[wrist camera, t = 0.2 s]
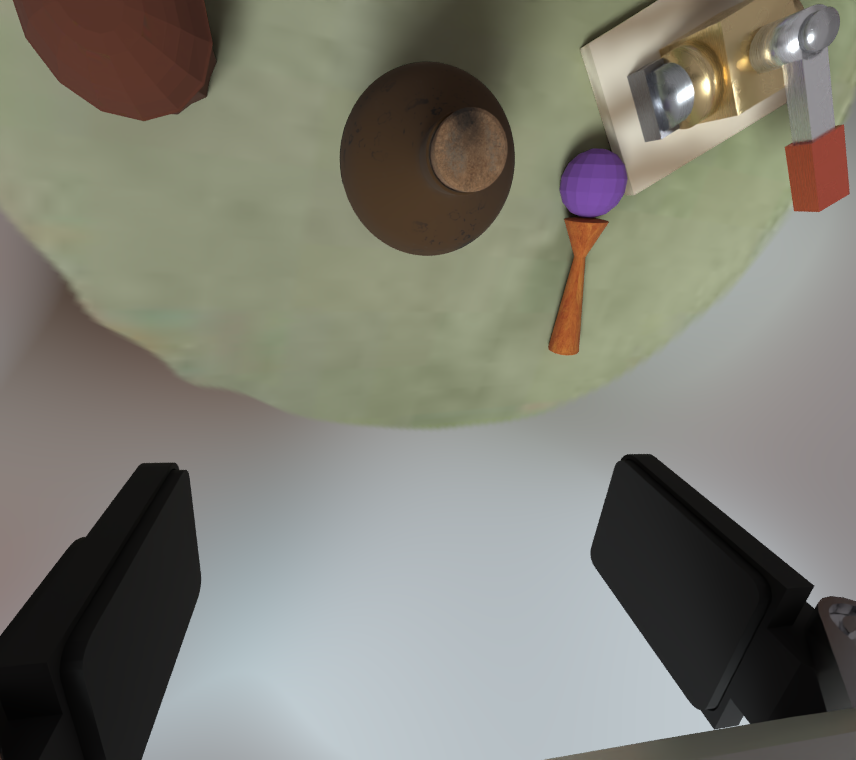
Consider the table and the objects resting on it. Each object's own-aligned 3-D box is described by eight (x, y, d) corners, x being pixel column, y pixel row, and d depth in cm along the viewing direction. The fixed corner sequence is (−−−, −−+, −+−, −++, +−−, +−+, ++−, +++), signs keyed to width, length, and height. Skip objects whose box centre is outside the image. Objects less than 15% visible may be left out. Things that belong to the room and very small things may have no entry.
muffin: (262, 91, 37) (237, 56, 28) (149, 159, 37) (87, 146, 28) (159, -83, 32) (88, -197, 23) (30, -3, 32) (-93, -83, 23)
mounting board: (579, 48, 40) (588, 43, 38) (755, -61, 39) (770, -70, 38) (625, 195, 46) (634, 195, 44) (778, 102, 45) (792, 99, 44)
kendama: (543, 359, 47) (576, 147, 38) (531, 339, 52) (558, 148, 43) (599, 360, 47) (645, 149, 38) (581, 340, 52) (618, 150, 43)
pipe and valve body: (625, 70, 40) (680, 46, 33) (751, -8, 39) (831, -48, 33) (646, 147, 43) (700, 138, 36) (764, 75, 42) (840, 53, 36)
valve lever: (745, 37, 34) (800, 15, 30) (782, 14, 34) (842, -11, 30) (774, 211, 40) (823, 213, 36) (805, 193, 40) (858, 192, 36)
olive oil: (473, 161, 42) (638, 116, 19) (413, 258, 44) (495, 321, 21) (378, 83, 38) (439, -90, 15) (317, 194, 40) (292, 187, 17)
